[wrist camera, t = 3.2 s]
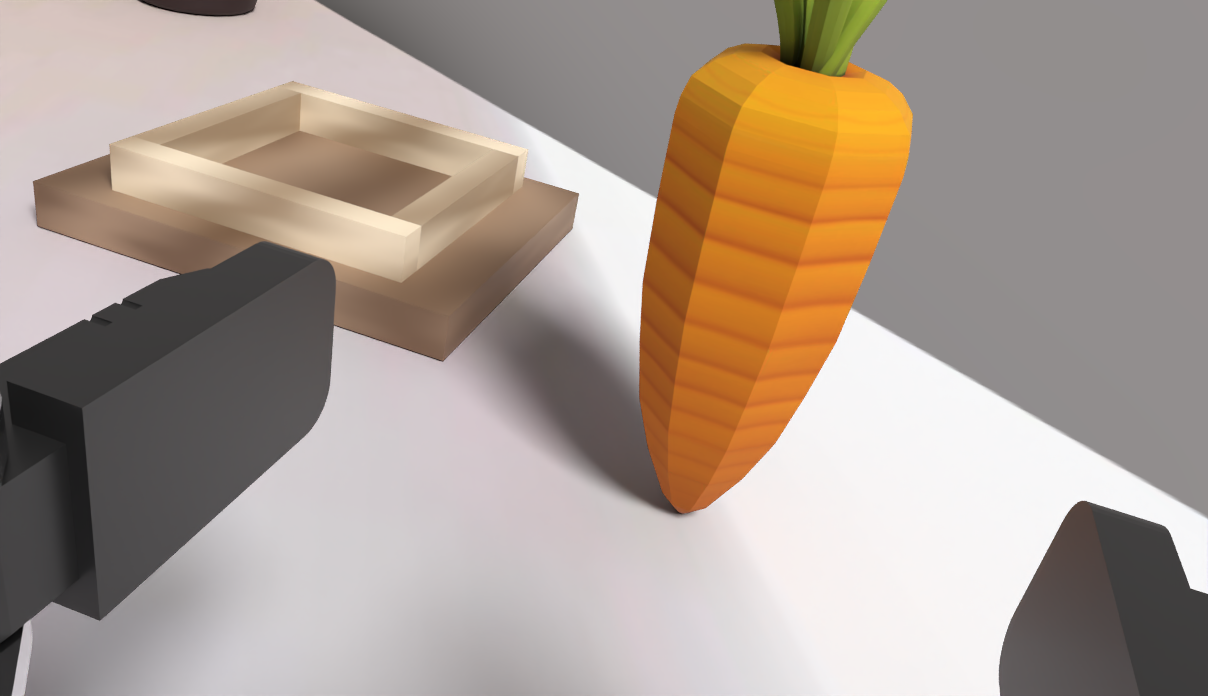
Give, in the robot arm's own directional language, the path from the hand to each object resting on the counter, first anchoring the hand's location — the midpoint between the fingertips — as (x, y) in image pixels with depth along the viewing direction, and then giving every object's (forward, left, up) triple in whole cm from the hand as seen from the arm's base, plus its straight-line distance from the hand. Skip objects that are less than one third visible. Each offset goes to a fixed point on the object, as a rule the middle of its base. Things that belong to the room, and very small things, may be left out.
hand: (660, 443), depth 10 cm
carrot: (0, +11, -9) cm, 15 cm away
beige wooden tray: (-15, +20, -9) cm, 27 cm away
